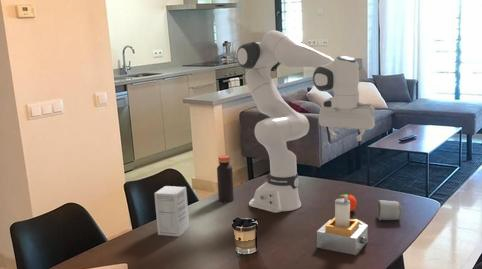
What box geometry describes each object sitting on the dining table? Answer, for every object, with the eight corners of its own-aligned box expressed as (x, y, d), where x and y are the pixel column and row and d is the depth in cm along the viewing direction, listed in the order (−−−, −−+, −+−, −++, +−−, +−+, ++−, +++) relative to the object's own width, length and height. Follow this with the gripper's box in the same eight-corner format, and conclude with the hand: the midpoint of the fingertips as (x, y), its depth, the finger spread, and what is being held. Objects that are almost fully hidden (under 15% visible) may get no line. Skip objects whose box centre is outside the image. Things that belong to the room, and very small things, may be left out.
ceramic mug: (401, 222, 202) (402, 203, 200) (379, 222, 202) (380, 203, 201) (396, 213, 212) (396, 194, 211) (375, 213, 213) (375, 195, 211)
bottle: (236, 198, 237) (234, 155, 233) (228, 203, 231) (226, 159, 227) (224, 196, 241) (221, 154, 236) (215, 201, 235) (213, 157, 231)
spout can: (332, 229, 182) (332, 196, 180) (338, 224, 187) (338, 192, 184) (346, 232, 180) (347, 198, 177) (351, 227, 184) (352, 194, 181)
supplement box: (190, 228, 206) (187, 186, 202) (180, 237, 197) (176, 194, 194) (168, 225, 209) (164, 185, 205) (157, 235, 200) (153, 192, 197)
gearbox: (317, 247, 183) (316, 225, 181) (330, 235, 193) (329, 214, 191) (359, 255, 175) (359, 233, 174) (370, 242, 185) (371, 220, 184)
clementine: (335, 212, 215) (335, 196, 213) (338, 207, 221) (338, 190, 219) (355, 214, 212) (355, 198, 210) (358, 209, 218) (358, 192, 216)
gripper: (377, 102, 186) (377, 140, 189) (323, 99, 197) (323, 135, 200) (372, 104, 181) (371, 143, 184) (316, 102, 191) (317, 139, 194)
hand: (346, 139), depth 192 cm, fingers open, 8 cm apart
